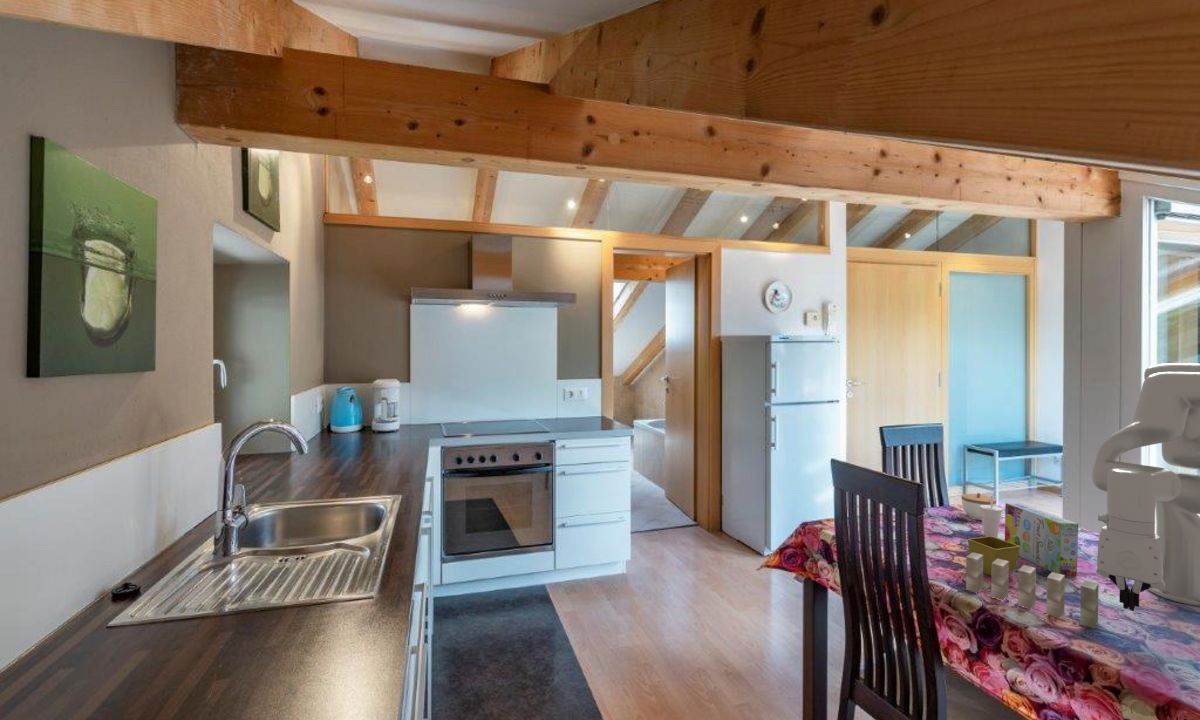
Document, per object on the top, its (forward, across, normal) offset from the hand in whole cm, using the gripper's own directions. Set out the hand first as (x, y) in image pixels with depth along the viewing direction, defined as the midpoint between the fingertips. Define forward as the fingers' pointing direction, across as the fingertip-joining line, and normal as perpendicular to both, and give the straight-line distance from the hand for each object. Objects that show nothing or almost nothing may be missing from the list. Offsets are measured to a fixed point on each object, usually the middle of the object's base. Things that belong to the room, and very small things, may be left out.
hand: (1129, 607), depth 117 cm
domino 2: (+6, -24, 0) cm, 24 cm away
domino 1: (+6, -29, 0) cm, 30 cm away
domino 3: (+6, -18, 0) cm, 19 cm away
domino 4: (+6, -12, 0) cm, 14 cm away
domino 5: (+6, -6, 0) cm, 9 cm away
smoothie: (+6, -39, +53) cm, 66 cm away
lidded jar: (+6, -48, +73) cm, 88 cm away
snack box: (+6, -23, +37) cm, 44 cm away
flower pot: (+6, -29, +16) cm, 34 cm away
